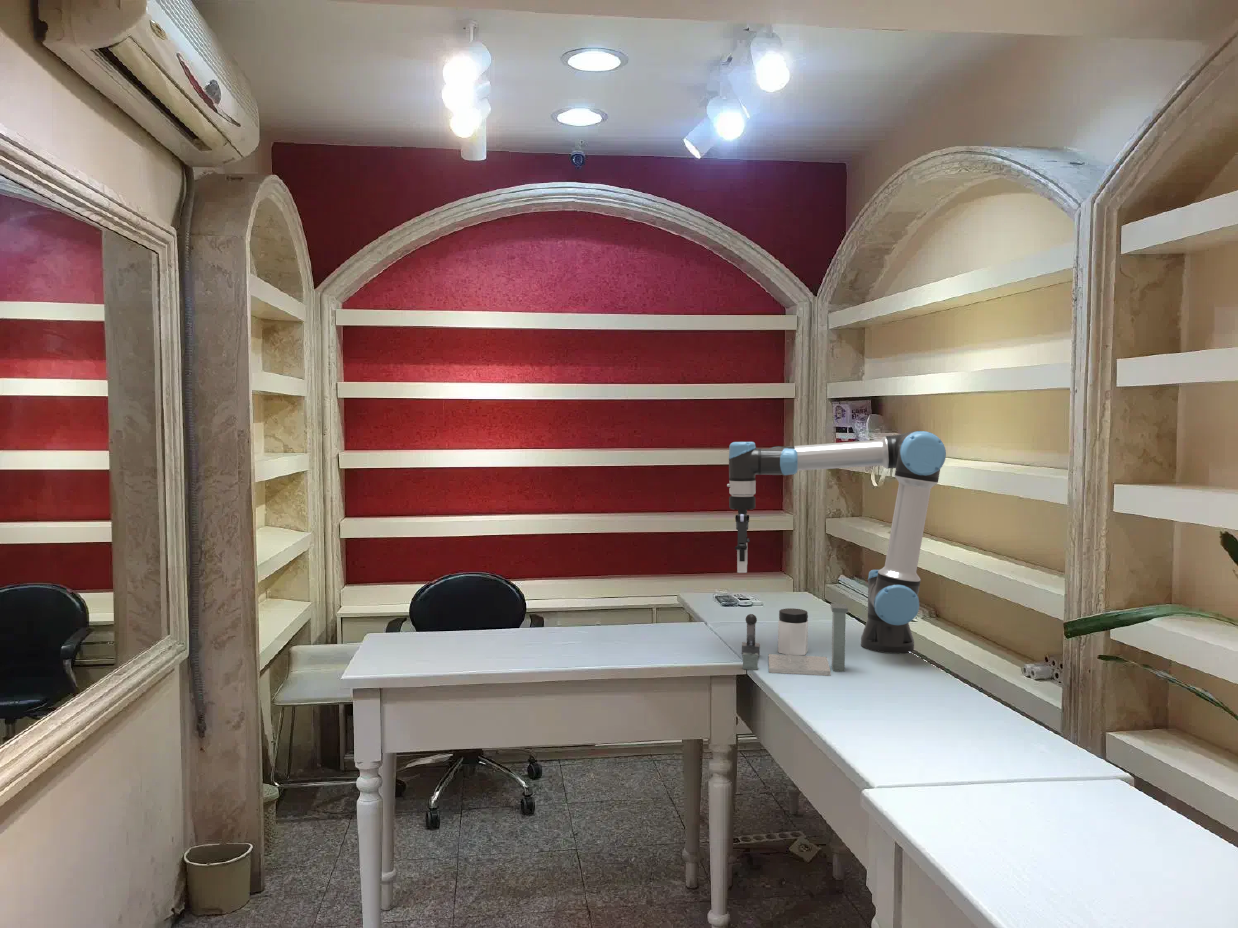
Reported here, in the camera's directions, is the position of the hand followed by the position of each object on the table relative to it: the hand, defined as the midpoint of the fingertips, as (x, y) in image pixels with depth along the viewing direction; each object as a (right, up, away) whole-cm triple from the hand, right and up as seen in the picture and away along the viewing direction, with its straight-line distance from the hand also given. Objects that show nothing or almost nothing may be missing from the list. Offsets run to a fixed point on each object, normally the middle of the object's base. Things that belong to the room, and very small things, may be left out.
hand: (742, 568), depth 254 cm
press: (+12, -25, -13) cm, 31 cm away
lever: (+2, -23, -4) cm, 24 cm away
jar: (+15, -25, +1) cm, 29 cm away
